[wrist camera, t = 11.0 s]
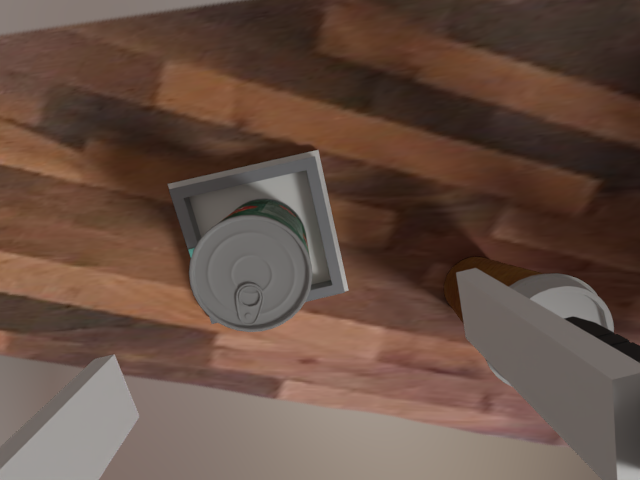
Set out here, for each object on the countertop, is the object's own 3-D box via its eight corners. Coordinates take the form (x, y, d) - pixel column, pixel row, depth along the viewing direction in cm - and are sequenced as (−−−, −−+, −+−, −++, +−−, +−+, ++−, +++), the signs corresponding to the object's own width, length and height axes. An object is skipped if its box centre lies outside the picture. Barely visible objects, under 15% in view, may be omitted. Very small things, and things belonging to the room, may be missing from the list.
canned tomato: (225, 193, 32) (190, 207, 21) (310, 202, 32) (319, 221, 22) (220, 275, 33) (186, 328, 23) (302, 282, 34) (305, 336, 23)
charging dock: (317, 150, 32) (319, 149, 30) (347, 287, 35) (351, 296, 33) (170, 183, 32) (160, 185, 30) (213, 319, 35) (207, 330, 33)
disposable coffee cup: (410, 285, 36) (466, 344, 24) (480, 222, 35) (574, 251, 23) (465, 343, 38) (541, 424, 26) (533, 285, 37) (644, 341, 25)
